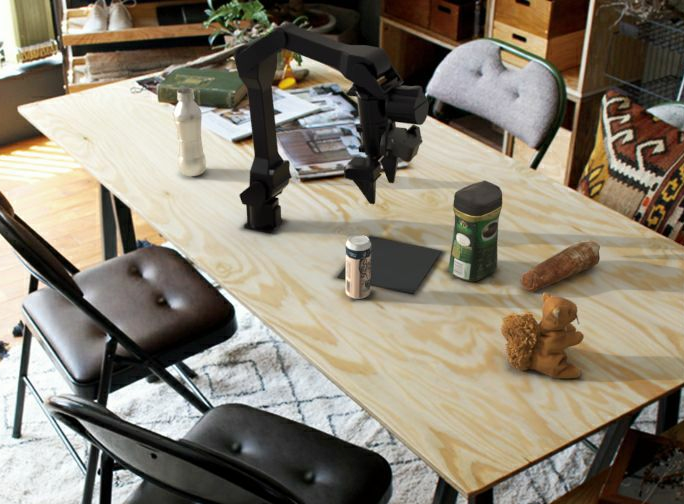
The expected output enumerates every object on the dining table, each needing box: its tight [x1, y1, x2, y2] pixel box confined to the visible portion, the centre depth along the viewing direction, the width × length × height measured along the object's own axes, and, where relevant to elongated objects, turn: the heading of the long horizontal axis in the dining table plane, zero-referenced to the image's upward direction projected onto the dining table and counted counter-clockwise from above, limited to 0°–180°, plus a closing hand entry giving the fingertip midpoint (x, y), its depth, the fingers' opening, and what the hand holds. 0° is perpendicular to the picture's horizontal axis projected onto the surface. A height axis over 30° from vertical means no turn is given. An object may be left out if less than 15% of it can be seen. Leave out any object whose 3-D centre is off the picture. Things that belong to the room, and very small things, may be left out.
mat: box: [336, 235, 443, 295], centre depth 209 cm, size 16×18×1 cm
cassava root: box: [520, 239, 601, 293], centre depth 205 cm, size 6×19×6 cm, turn 127°
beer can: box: [345, 234, 371, 300], centre depth 196 cm, size 5×5×12 cm
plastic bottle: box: [172, 87, 207, 177], centre depth 235 cm, size 6×7×20 cm
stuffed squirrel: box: [500, 292, 585, 379], centre depth 179 cm, size 10×14×13 cm
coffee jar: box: [448, 180, 503, 282], centre depth 202 cm, size 10×8×19 cm
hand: (382, 193), depth 203 cm, fingers open, 9 cm apart
